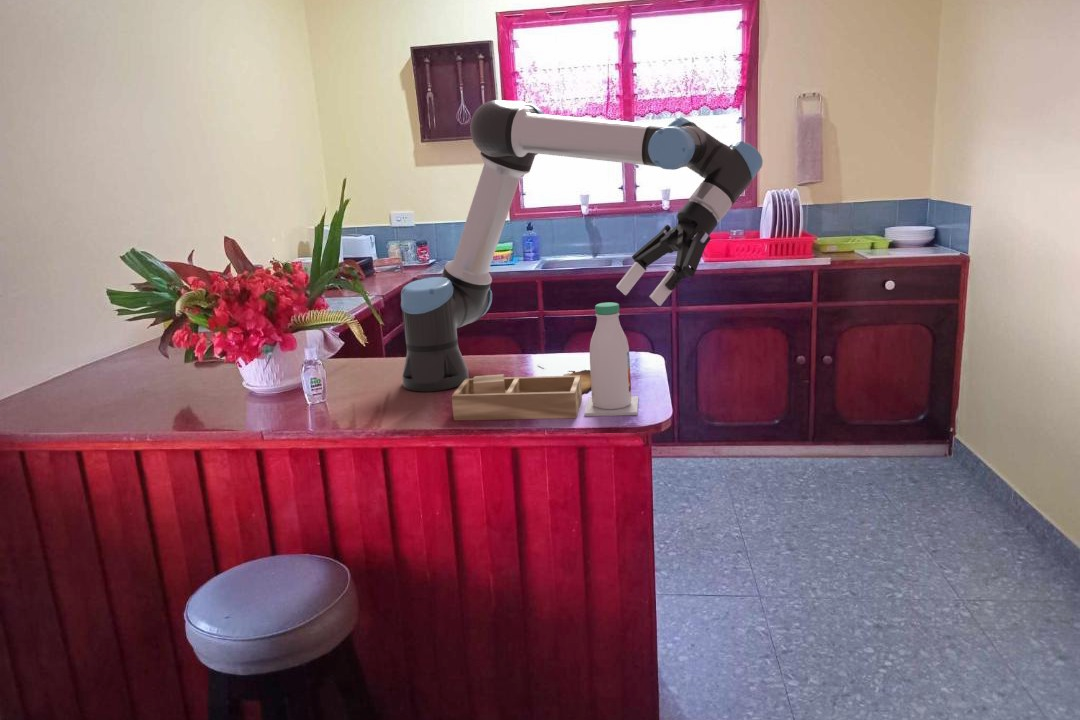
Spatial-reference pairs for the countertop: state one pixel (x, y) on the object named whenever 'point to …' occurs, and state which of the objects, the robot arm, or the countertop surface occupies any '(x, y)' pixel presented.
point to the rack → (520, 399)
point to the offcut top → (489, 384)
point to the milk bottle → (609, 360)
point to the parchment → (582, 379)
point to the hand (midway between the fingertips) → (637, 296)
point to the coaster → (628, 410)
